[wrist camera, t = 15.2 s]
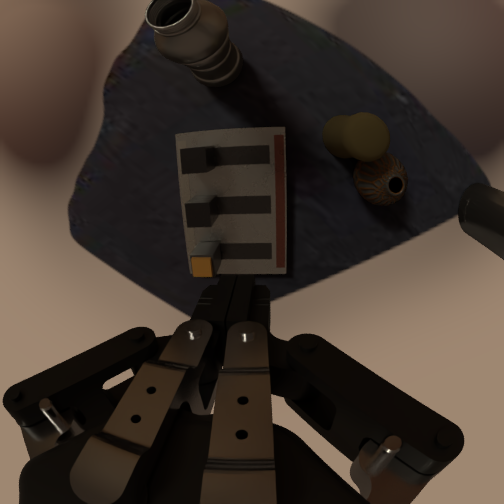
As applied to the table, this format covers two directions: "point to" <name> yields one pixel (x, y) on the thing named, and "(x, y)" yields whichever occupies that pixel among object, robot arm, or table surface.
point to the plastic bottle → (195, 39)
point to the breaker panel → (236, 196)
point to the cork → (356, 136)
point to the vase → (381, 180)
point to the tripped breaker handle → (206, 259)
